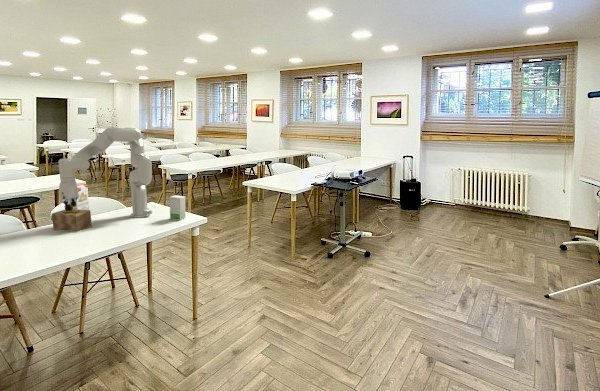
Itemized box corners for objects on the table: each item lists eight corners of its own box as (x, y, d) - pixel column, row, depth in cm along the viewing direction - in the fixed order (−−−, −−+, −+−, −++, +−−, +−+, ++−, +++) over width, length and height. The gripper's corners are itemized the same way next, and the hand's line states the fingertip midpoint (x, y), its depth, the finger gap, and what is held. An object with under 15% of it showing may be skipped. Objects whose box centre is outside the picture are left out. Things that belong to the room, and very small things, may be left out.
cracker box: (78, 217, 250) (75, 186, 245) (69, 217, 250) (66, 186, 245) (90, 212, 263) (87, 183, 259) (82, 212, 263) (79, 182, 259)
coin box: (91, 226, 231) (90, 210, 229) (77, 231, 220) (75, 215, 218) (68, 224, 234) (67, 208, 232) (53, 229, 222) (51, 213, 220)
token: (78, 215, 226) (77, 205, 225) (74, 216, 223) (73, 206, 222) (69, 214, 227) (68, 205, 226) (65, 215, 224) (64, 206, 223)
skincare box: (169, 219, 250) (168, 196, 246) (175, 217, 256) (174, 194, 253) (180, 220, 247) (179, 197, 244) (186, 218, 253) (185, 195, 250)
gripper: (72, 177, 229) (75, 206, 233) (50, 181, 213) (54, 212, 217) (83, 177, 228) (86, 207, 232) (62, 182, 212) (66, 213, 216)
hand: (71, 209), depth 224 cm, fingers open, 3 cm apart
